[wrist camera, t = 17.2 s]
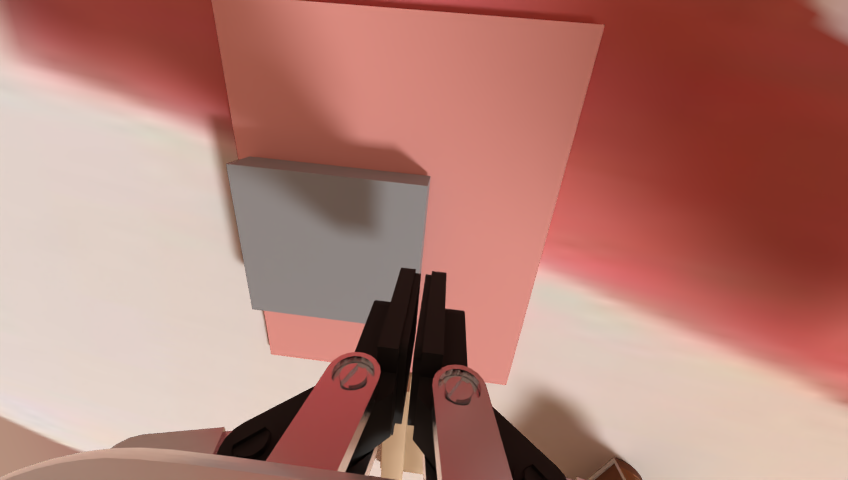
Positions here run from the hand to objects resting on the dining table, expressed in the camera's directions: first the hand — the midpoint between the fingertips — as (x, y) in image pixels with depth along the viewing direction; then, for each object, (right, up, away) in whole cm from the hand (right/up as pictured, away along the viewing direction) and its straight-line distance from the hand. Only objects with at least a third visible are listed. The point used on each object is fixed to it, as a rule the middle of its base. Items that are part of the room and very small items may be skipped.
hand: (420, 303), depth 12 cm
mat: (-2, +3, +6) cm, 7 cm away
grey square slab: (-4, +6, +3) cm, 8 cm away
